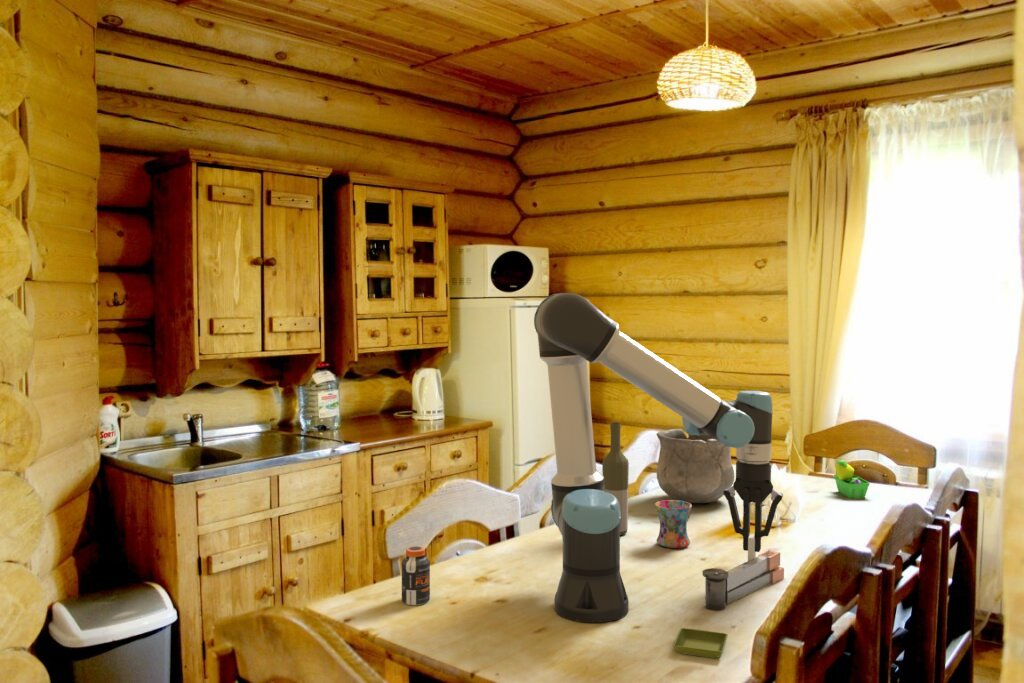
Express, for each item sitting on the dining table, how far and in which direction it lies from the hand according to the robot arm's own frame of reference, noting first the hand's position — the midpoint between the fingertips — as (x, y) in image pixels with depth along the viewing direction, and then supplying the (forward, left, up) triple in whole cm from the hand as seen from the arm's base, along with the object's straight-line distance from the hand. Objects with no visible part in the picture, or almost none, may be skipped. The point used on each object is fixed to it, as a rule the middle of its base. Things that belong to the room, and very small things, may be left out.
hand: (751, 565), depth 187 cm
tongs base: (-7, -4, -4) cm, 9 cm away
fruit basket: (+89, +39, -4) cm, 97 cm away
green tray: (-35, -20, -4) cm, 41 cm away
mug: (+6, +30, -4) cm, 31 cm away
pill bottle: (-68, +30, -4) cm, 75 cm away
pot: (+42, +60, -4) cm, 73 cm away
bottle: (-1, +46, -4) cm, 46 cm away
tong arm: (-4, -3, -1) cm, 5 cm away
